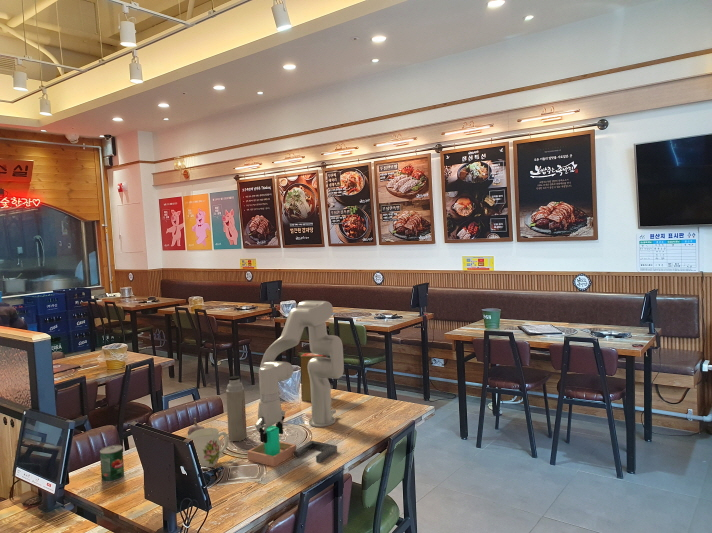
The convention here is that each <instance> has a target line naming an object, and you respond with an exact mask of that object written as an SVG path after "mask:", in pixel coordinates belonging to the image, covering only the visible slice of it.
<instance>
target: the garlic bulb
mask: <svg viewBox="0 0 712 533" xmlns="http://www.w3.org/2000/svg"><path fill="white" fill-rule="evenodd" d="M193 423H194V424H193V425H191V426H189V428H188V430H187V436H188V435H190V434H191V433H192V432H194V431H196V430H199V429H203V428H205V427H204V426H203V425H200V424H198V422H197V418H196V417H194V418H193Z"/></svg>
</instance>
